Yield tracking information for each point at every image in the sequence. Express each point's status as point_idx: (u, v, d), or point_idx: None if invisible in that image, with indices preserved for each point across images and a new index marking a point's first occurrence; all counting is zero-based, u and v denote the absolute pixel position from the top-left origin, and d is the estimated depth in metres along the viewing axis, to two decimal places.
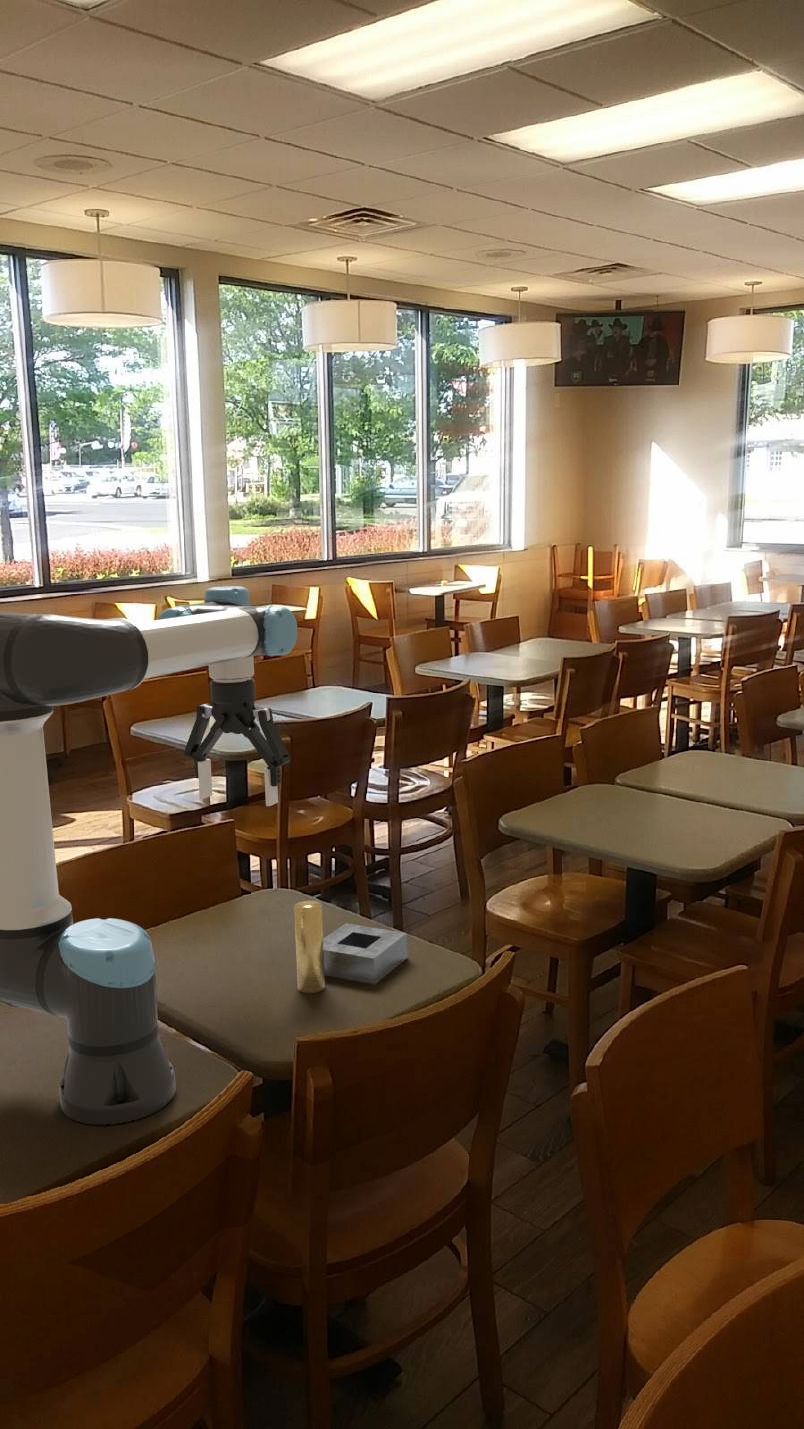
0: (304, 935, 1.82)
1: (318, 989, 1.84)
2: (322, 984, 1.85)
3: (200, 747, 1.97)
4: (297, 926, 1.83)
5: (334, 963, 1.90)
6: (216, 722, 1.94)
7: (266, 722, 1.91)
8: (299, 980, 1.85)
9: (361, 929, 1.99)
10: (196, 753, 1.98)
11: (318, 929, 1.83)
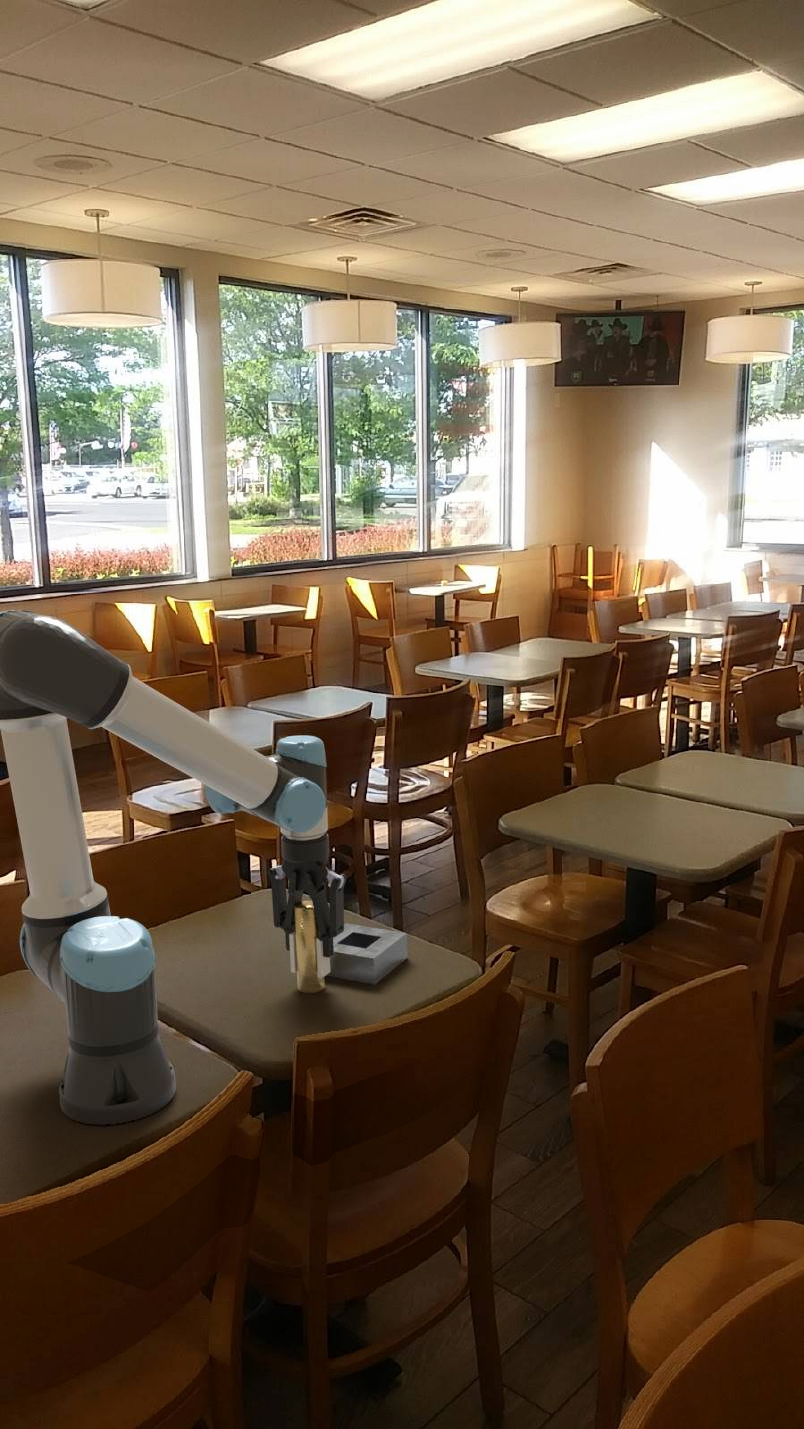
0: (304, 935, 1.82)
1: (317, 989, 1.84)
2: (322, 984, 1.85)
3: (287, 916, 1.84)
4: (297, 926, 1.83)
5: (334, 963, 1.90)
6: (290, 882, 1.82)
7: (337, 891, 1.80)
8: (299, 980, 1.85)
9: (361, 929, 1.99)
10: (285, 924, 1.85)
11: (318, 929, 1.83)
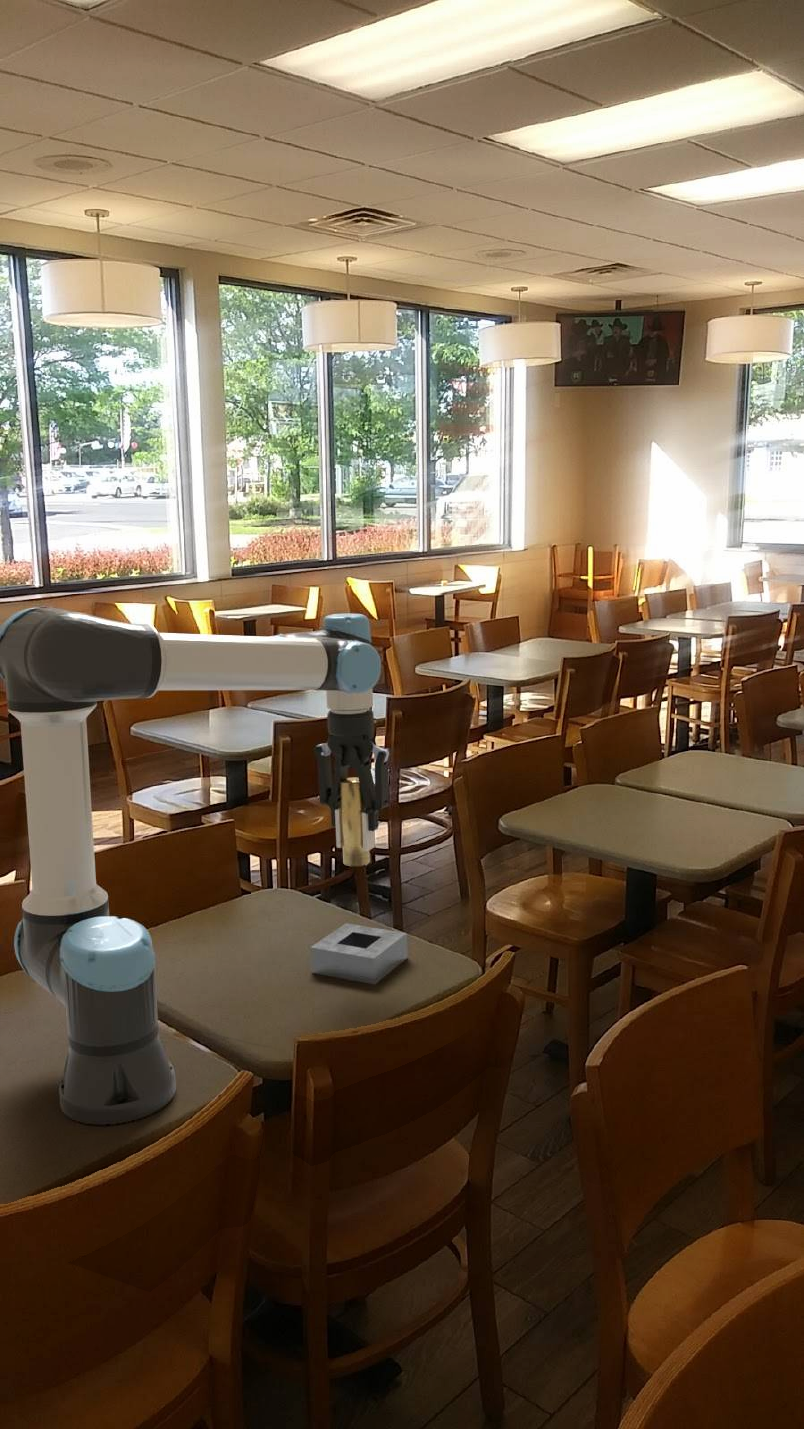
0: (350, 809, 1.87)
1: (363, 862, 1.89)
2: (367, 858, 1.90)
3: (332, 792, 1.89)
4: (343, 800, 1.88)
5: (334, 963, 1.90)
6: (336, 757, 1.87)
7: (382, 765, 1.84)
8: (345, 854, 1.89)
9: (361, 929, 1.99)
10: (331, 800, 1.90)
11: (363, 803, 1.88)
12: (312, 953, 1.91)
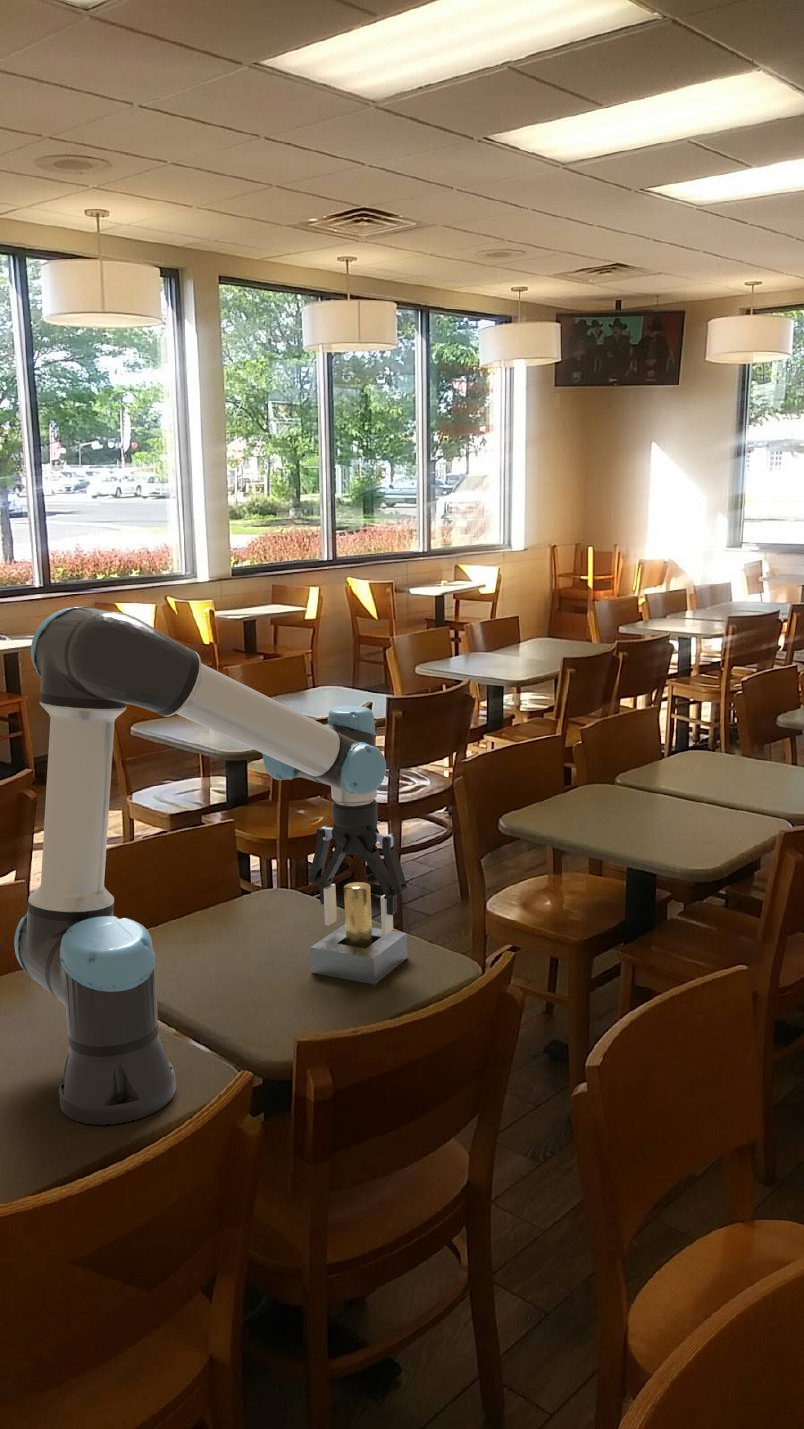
0: (354, 915, 1.91)
1: None
2: None
3: (325, 872, 1.93)
4: (347, 906, 1.91)
5: (334, 963, 1.90)
6: (338, 845, 1.90)
7: (389, 850, 1.87)
8: None
9: None
10: (321, 879, 1.94)
11: (367, 909, 1.91)
12: (312, 953, 1.91)
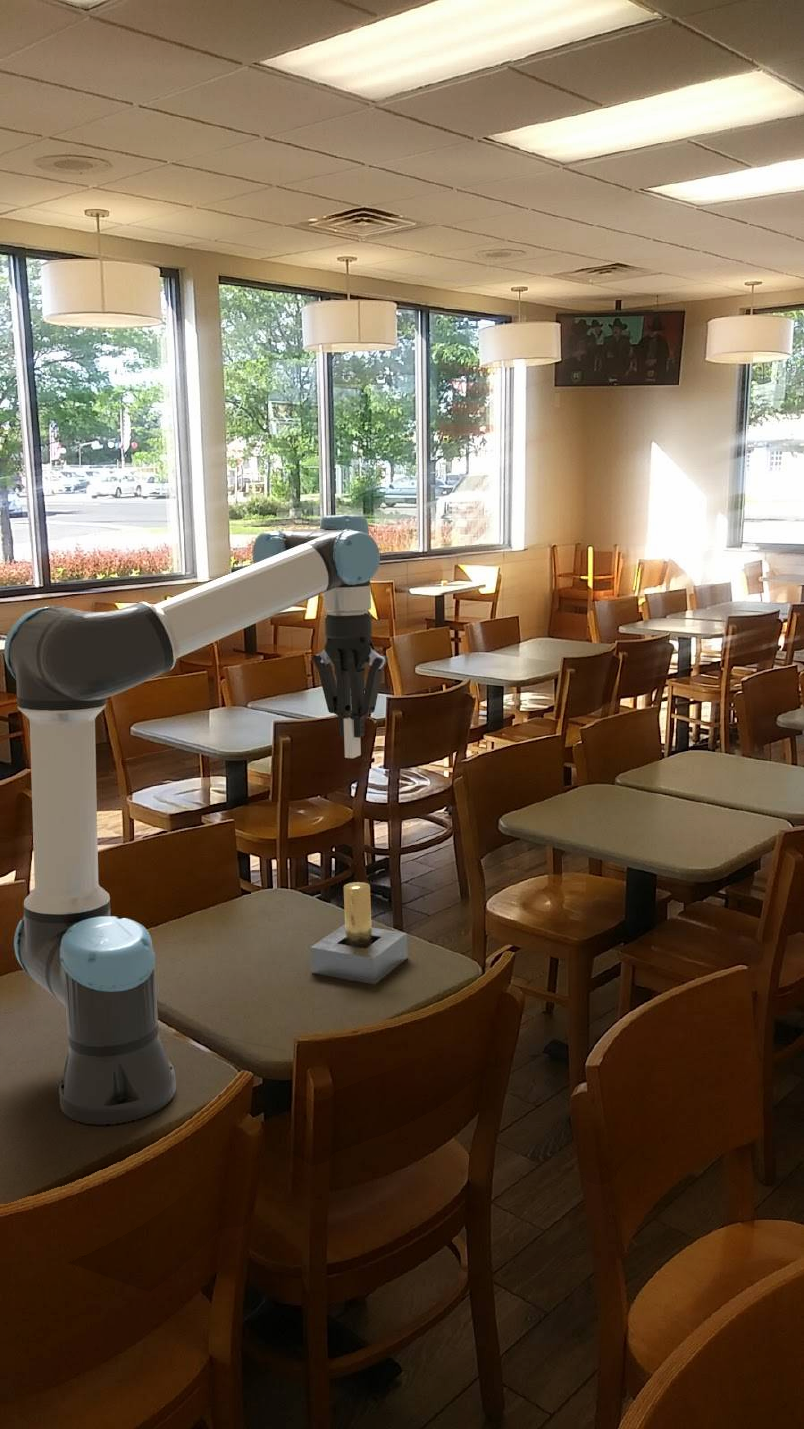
0: (354, 915, 1.91)
1: None
2: None
3: (338, 700, 1.86)
4: (347, 906, 1.91)
5: (334, 963, 1.90)
6: (335, 662, 1.84)
7: (376, 671, 1.82)
8: None
9: None
10: (339, 709, 1.86)
11: (367, 909, 1.91)
12: (312, 953, 1.91)
